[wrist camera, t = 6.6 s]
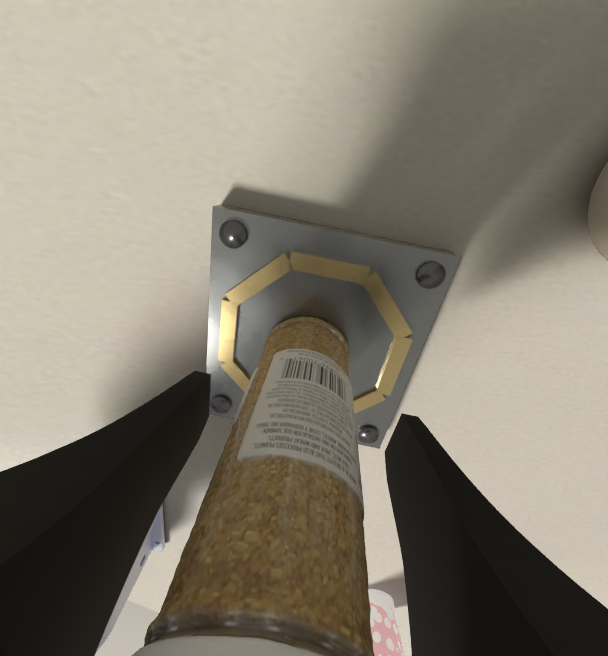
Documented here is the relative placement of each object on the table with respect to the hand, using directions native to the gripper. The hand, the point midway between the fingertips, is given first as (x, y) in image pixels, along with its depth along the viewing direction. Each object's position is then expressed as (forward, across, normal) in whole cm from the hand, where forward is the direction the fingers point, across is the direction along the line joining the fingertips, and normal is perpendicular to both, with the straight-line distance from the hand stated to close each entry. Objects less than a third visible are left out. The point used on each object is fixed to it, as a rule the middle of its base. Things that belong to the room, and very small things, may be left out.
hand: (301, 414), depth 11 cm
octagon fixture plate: (+6, 0, +2) cm, 6 cm away
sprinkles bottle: (+5, 0, 0) cm, 5 cm away
